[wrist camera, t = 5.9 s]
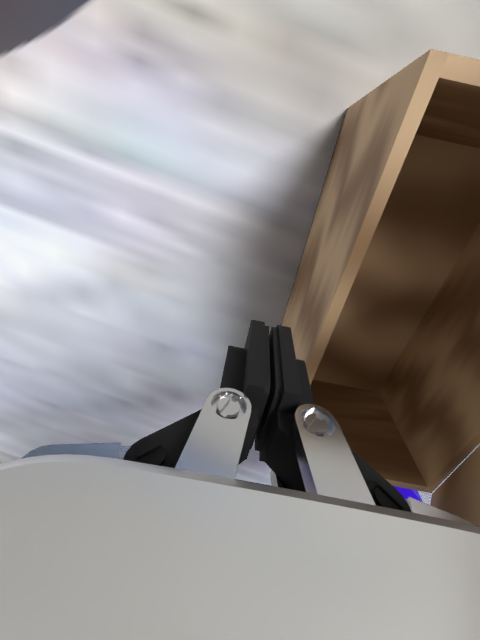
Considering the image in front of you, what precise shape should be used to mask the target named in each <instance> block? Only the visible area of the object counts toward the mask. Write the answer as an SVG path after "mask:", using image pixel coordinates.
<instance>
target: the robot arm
mask: <svg viewBox="0 0 480 640" xmlns="http://www.w3.org/2000/svg"><path fill="white" fill-rule="evenodd" d="M254 439H255V450H257V451H260V458H259V461H264V462H266V464H267V465H268V466H269V467H270V468H271V469H272V470H271V484H272V486H270V485H264V484H259V483H253V482H248V481H243V480H237V479H234V478H235V474H236V470H237V466H238V464H240V463H241V462H242V461H244V460H245V459H247V456H248V453H249V450H250V449H251V448H252V445H253V442H254ZM0 640H480V526H478V525H476V524H474V523H472V522H470V521H467V520H465V519H462V518H460V517H457V516H455V515H453V514H450V513H448V512H445V511H443V510H440V509H438V508H435V507H433V506H431V505H428V504H426V503H423V502H421V501H418V500H416V499H413V498H411V497H409V498H408V499H407V500H406V499H405V498H404V497H403V495H402V494H401V493H400V492H399V491H398V490H397V489H396V488H395V487H394V486H392V485H391V484H390V483H389V482H388V481H387V480H386V479H384V478H383V477H382V476H381V475H380V474H379V473H377V472H376V471H375V470H374V469H373V468H372V467H371V466H369V465H368V464H367V463H366V462H365V461H364V460H363V459H361V458H360V457H359V456H358V455H357V454H356V453H354V452H353V451H352V450H351V449H350V448H349V445H348V443H347V441H346V439H345V437H344V435H343V432H342V430H341V428H340V426H339V424H338V422H337V420H336V419H335V417H334V416H333V415H332V414H331V413H330V412H329V411H327V410H326V409H324V408H323V407H320V406H318V405H314V401H313V396H312V391H311V387H310V382H309V378H308V373H307V368H306V364H305V361H304V360H299V359H296V355H295V350H294V344H293V338H292V332H291V328H290V327H286V326H281V325H277V327H276V328H274V327H272V329H271V332H270V335H269V326H264V322H261V321H256V320H251V324H250V328H249V332H248V336H247V340H246V345H245V349H244V348H239V347H234V346H229V347H228V352H227V357H226V362H225V367H224V372H223V377H222V382H221V387H220V389H217V390H215V391H213V392H212V393H210V395H209V396H208V397H207V400H206V402H205V404H204V406H203V408H202V409H201V410H199V411H197V412H195V413H193V414H191V415H189V416H187V417H185V418H183V419H181V420H179V421H177V422H175V423H173V424H171V425H169V426H167V427H165V428H163V429H161V430H159V431H157V432H155V433H153V434H151V435H149V436H147V437H145V438H142V439H140V440H139V441H137V442H136V443H134V444H133V445H132V446H121V443H92V444H57V445H47V446H41V447H39V448H37V449H35V450H32V451H30V452H29V453H28V454H26V455H25V456H24V457H22V458H21V459H16V460H11V461H7V462H3V463H0Z"/></svg>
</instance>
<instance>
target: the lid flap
mask: <svg viewBox="0 0 480 640" xmlns="http://www.w3.org/2000/svg"><path fill="white" fill-rule="evenodd" d="M431 506H433V507H435V508H438V509H440V510H443V511H445V512H448V513H450V514H453V515H455V516H457V517H460V518H462V519H465V520H467V521H470V522H472V523H474V524H476V525H478V526H480V446H479V447H478V448H477V449H476V450H475V451H474V452H473V453H472V454H471V455H470V456H469V457H468V458H467V459H466V460H465V461H464V462H463V463H462V464H461V465H460V466H459V467H458V468H457V469H456V470H455V471H454V472H453V473H452V474H451V475H450V476H449V477H448V478H447V479H446V480H445V482H444V483H443V484H442V485H441V486H440V487H439V488H438V489H437V490H436V491H435V492H434V493H433V494H432V498H431Z"/></svg>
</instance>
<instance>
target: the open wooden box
mask: <svg viewBox="0 0 480 640" xmlns="http://www.w3.org/2000/svg"><path fill="white" fill-rule="evenodd" d="M281 326H286V327H290V328H291V332H292V338H293V344H294V350H295V355H296V359H299V360H304V361H305V364H306V368H307V373H308V378H309V382H310V387H311V391H312V396H313V401H314V405H318V406H320V407H323V408H324V409H326V410H327V411H329V412H330V413H331V414H332V415H333V416H334V417H335V419H336V420H337V422H338V424H339V426H340V428H341V430H342V432H343V435H344V437H345V439H346V441H347V443H348V445H349V448H350V449H351V450H352V451H353V452H354V453H356V454H357V455H358V456H359V457H360V458H361V459H363V460H364V461H365V462H366V463H367V464H368V465H369V466H371V467H372V468H373V469H374V470H375V471H376V472H377V473H379V474H380V475H381V476H382V477H383V478H384V479H386V480H387V481H388V482H389V483H390V484H391V485H392V486H397V487H402V488H407V489H413V490H418V491H424V492H429V493H432V492H433V491H434V490H435V488H436V487H437V486H438V485H439V484H440V483H441V482H442V481H443V480H444V479H445V478H446V477H447V476H448V475H449V474H450V473H451V472H452V471H453V470H454V469H455V468H456V467H457V466H458V465H459V464H460V463H461V462H462V461H463V460H464V459H465V458H466V456H467V455H468V454H469V453H470V452H471V451H472V450H473V449H474V448H475V447H476V446H477V445H478V444H479V443H480V60H478V59H473V58H469V57H465V56H460V55H456V54H451V53H447V52H443V51H438V50H434V49H430V50H429V51H428V52H426V53H425V54H423V55H422V56H421V57H419V58H418V59H416V60H415V61H413V62H412V63H411V64H409V65H408V66H406V67H405V68H404V69H402V70H401V71H399V72H398V73H397V74H395V75H394V76H392V77H391V78H390V79H388V80H387V81H385V82H384V83H383V84H381V85H380V86H378V87H377V88H376V89H374V90H373V91H371V92H370V93H369V94H367V95H366V96H364V97H363V98H362V99H360V100H359V101H357V102H356V103H354V104H353V105H352V106H350V107H349V108H347V109H346V113H345V116H344V119H343V122H342V126H341V129H340V132H339V136H338V139H337V142H336V146H335V149H334V152H333V155H332V159H331V162H330V165H329V169H328V172H327V175H326V179H325V182H324V185H323V189H322V192H321V195H320V198H319V202H318V205H317V208H316V212H315V215H314V218H313V222H312V225H311V228H310V232H309V235H308V238H307V241H306V245H305V248H304V251H303V255H302V258H301V261H300V265H299V268H298V271H297V274H296V278H295V281H294V284H293V288H292V291H291V294H290V298H289V301H288V304H287V308H286V311H285V314H284V317H283V321H282V324H281Z"/></svg>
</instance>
